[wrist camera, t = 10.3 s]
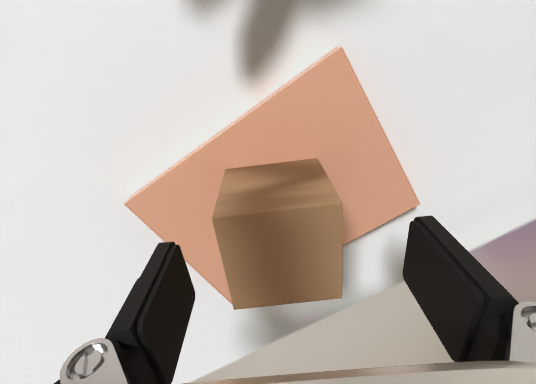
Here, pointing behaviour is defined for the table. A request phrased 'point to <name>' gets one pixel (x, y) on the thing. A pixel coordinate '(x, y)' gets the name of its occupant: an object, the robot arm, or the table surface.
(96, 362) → the robot arm
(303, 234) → the walnut cube
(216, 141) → the terracotta tile
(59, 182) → the table surface
